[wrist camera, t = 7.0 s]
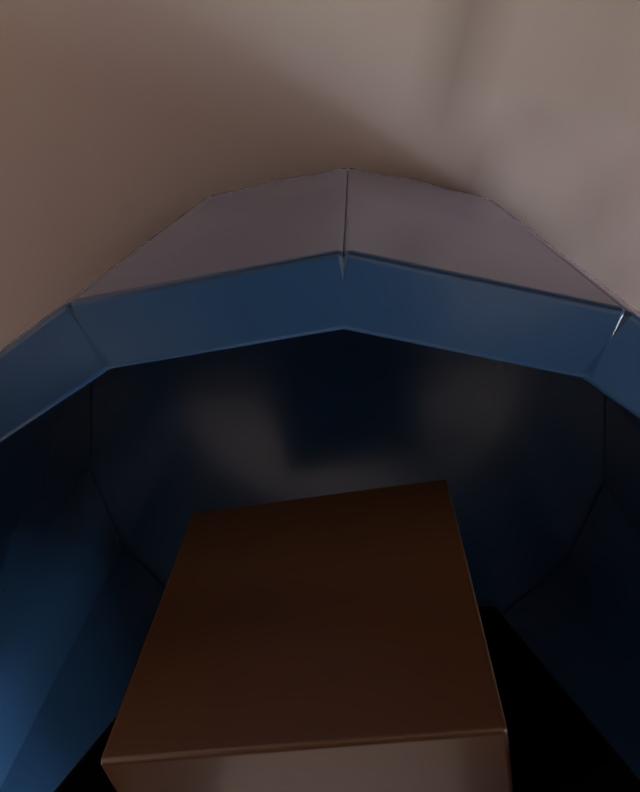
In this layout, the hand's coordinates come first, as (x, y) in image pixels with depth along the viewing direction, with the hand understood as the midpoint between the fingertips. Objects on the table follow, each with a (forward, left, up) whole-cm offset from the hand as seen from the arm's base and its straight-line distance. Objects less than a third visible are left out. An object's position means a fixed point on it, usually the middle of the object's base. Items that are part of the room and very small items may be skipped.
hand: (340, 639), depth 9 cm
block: (0, 0, -1) cm, 1 cm away
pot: (0, 0, -5) cm, 5 cm away
